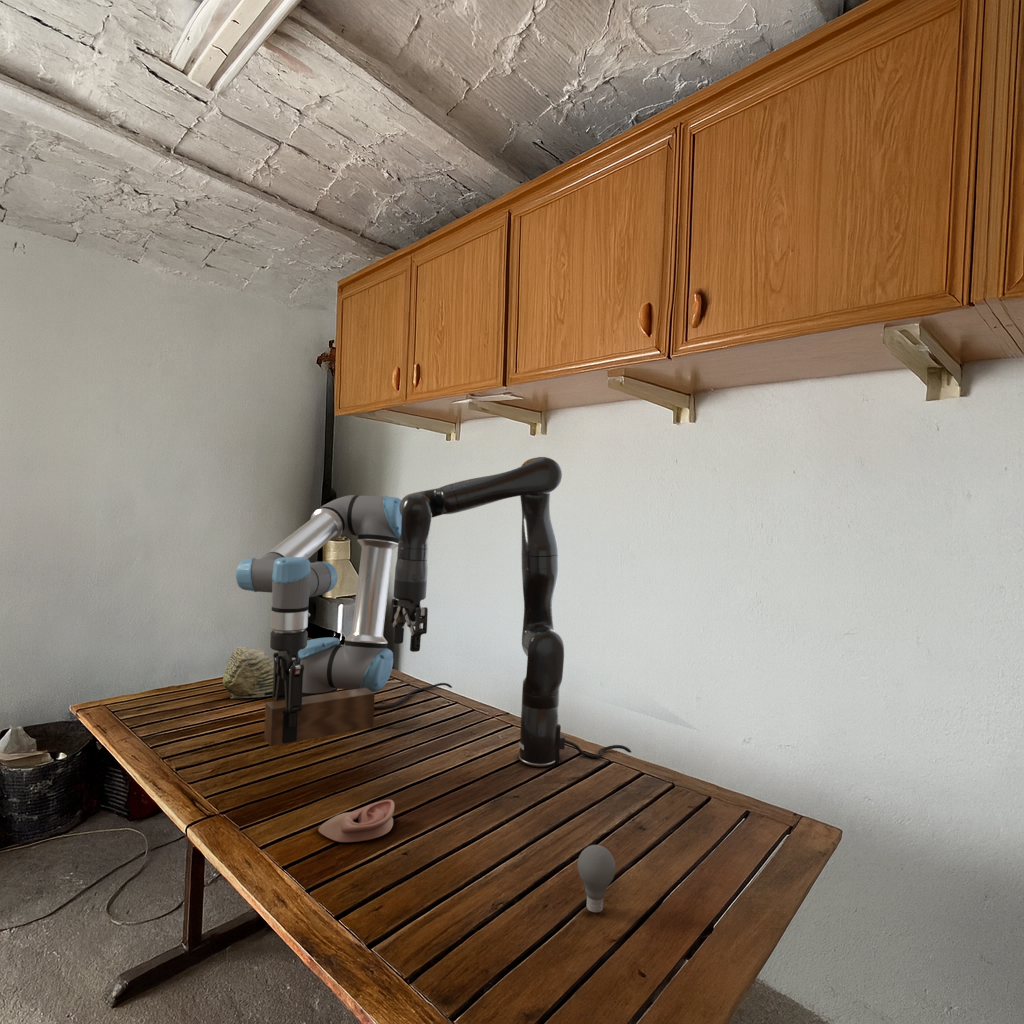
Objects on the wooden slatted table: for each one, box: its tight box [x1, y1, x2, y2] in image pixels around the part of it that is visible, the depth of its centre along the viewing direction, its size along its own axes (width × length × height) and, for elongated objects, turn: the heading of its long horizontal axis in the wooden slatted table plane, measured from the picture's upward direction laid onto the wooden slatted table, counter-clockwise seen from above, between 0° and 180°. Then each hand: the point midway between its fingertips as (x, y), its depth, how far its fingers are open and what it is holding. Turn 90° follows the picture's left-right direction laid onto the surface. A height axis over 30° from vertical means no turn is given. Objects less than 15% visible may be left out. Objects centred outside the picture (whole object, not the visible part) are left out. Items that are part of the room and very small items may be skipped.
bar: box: [263, 688, 376, 747], centre depth 141 cm, size 23×5×8 cm, turn 126°
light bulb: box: [577, 844, 617, 913], centre depth 100 cm, size 6×6×10 cm
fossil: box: [222, 646, 274, 699], centre depth 198 cm, size 9×18×15 cm, turn 132°
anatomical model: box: [317, 799, 395, 843], centre depth 122 cm, size 13×4×12 cm
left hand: (285, 736), depth 136 cm, fingers closed on bar, 5 cm apart
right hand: (406, 647), depth 148 cm, fingers open, 8 cm apart
